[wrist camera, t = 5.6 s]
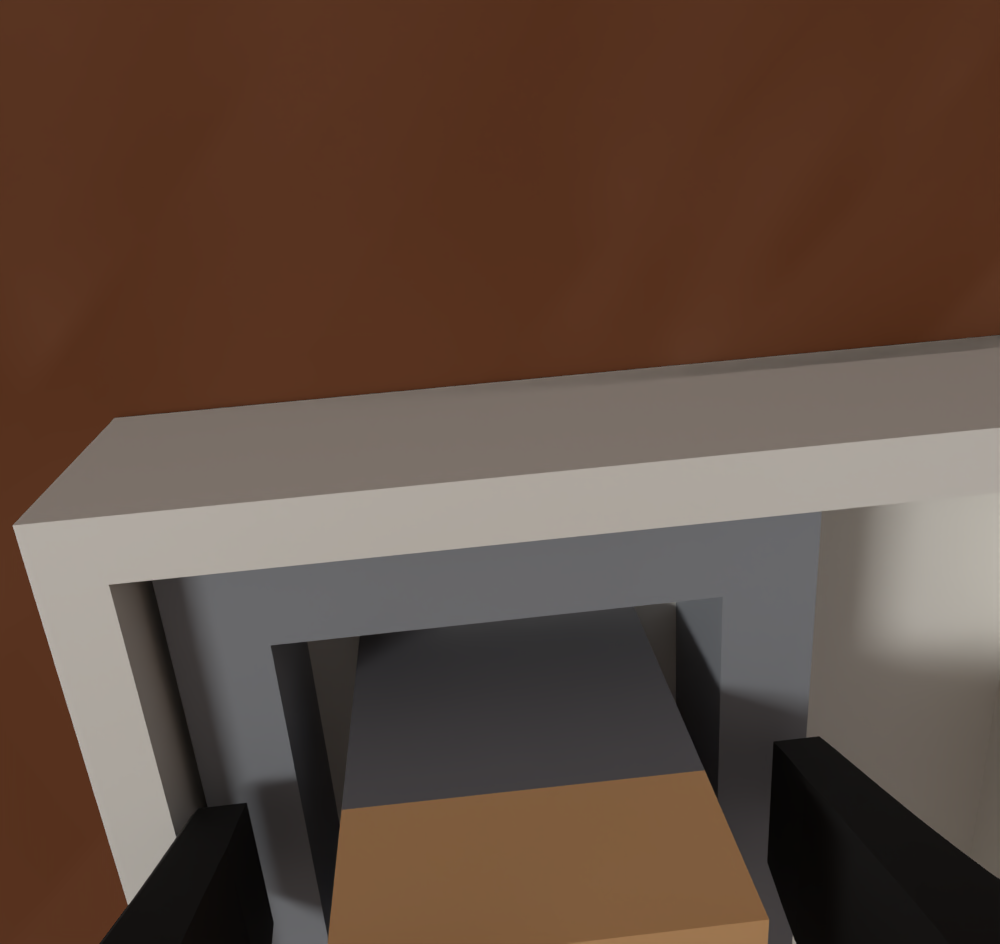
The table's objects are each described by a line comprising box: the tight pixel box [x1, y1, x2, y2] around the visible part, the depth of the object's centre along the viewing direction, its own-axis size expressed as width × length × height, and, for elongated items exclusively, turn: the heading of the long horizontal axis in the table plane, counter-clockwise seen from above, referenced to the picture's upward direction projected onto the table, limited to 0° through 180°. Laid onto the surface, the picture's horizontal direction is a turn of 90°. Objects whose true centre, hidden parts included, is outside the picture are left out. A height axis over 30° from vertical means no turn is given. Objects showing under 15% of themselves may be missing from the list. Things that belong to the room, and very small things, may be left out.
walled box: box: [13, 335, 1000, 944], centre depth 14 cm, size 14×12×4 cm
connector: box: [328, 606, 769, 944], centre depth 12 cm, size 4×4×6 cm
